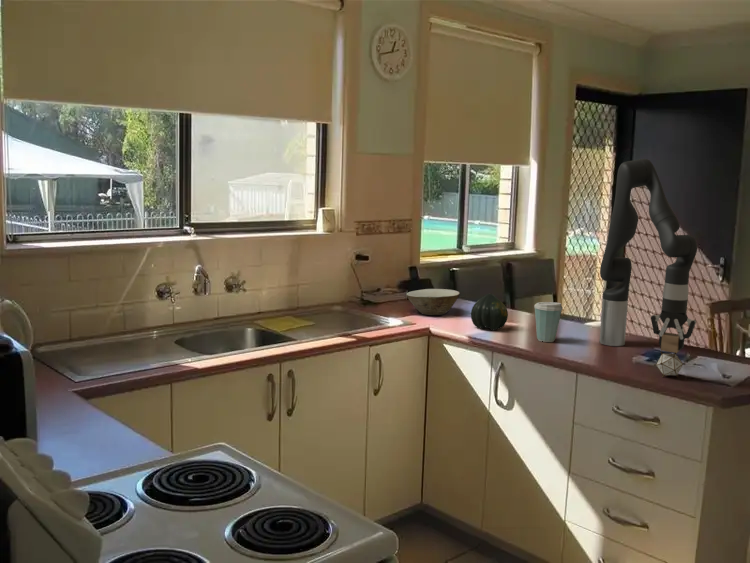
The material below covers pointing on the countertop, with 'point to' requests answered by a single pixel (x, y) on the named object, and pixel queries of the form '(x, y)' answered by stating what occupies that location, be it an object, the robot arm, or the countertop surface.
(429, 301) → the bowl
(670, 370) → the game die
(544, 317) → the disposable coffee cup
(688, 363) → the countertop surface
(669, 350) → the walnut block
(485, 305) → the squash
